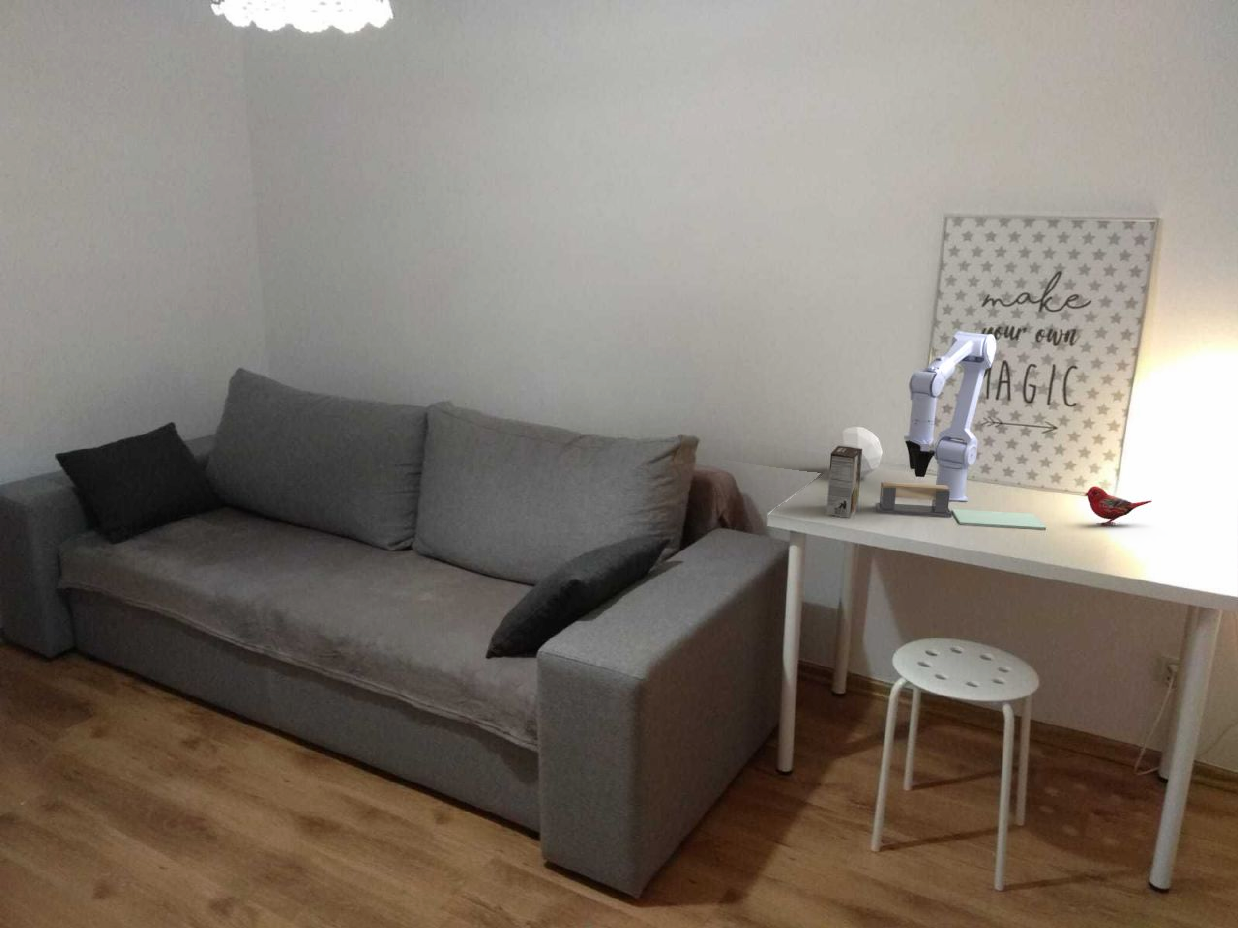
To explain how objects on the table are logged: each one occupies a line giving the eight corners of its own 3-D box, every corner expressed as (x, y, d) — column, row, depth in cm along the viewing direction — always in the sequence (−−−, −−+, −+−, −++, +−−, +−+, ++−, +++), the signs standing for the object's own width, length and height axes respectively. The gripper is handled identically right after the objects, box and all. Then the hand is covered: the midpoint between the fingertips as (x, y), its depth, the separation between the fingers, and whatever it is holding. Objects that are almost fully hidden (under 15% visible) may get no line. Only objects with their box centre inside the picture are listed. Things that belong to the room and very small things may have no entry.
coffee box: (833, 505, 245) (837, 445, 241) (858, 509, 242) (863, 448, 238) (824, 515, 237) (829, 452, 233) (850, 518, 234) (855, 455, 230)
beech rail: (881, 493, 242) (882, 481, 242) (945, 496, 240) (947, 485, 239) (882, 496, 240) (883, 485, 239) (947, 500, 237) (949, 488, 237)
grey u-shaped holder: (875, 506, 245) (877, 482, 243) (947, 510, 242) (949, 486, 241) (877, 513, 239) (879, 488, 238) (951, 517, 237) (954, 492, 235)
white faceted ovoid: (893, 464, 260) (883, 476, 280) (874, 413, 263) (866, 429, 283) (842, 480, 261) (836, 491, 281) (824, 430, 265) (819, 444, 284)
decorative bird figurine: (1076, 523, 234) (1082, 484, 231) (1144, 522, 235) (1150, 484, 233) (1083, 527, 231) (1089, 488, 228) (1151, 526, 232) (1158, 487, 230)
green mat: (951, 511, 242) (951, 509, 242) (1033, 516, 239) (1033, 513, 239) (959, 524, 231) (960, 522, 231) (1045, 529, 228) (1046, 527, 228)
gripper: (901, 413, 242) (896, 464, 246) (910, 425, 228) (905, 479, 232) (930, 414, 241) (924, 466, 245) (940, 426, 227) (935, 480, 231)
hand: (917, 472), depth 238 cm, fingers open, 7 cm apart
